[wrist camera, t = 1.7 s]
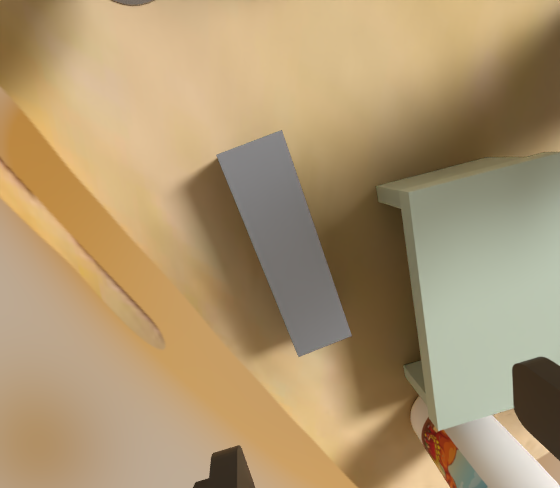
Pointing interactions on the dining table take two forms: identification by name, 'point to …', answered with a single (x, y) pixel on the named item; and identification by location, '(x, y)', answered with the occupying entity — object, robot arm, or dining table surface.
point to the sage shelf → (480, 278)
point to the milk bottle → (478, 454)
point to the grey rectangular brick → (285, 241)
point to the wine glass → (133, 2)
